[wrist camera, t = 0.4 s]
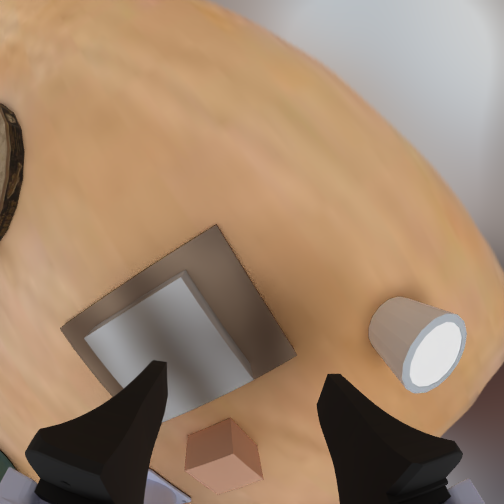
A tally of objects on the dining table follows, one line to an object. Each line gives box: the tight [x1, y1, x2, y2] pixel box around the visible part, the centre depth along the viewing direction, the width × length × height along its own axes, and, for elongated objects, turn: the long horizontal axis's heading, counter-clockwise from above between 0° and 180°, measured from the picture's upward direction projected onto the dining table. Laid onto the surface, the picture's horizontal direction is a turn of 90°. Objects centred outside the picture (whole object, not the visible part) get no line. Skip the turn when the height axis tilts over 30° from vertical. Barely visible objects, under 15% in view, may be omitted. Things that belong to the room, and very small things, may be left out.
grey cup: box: [369, 296, 467, 393], centre depth 21 cm, size 7×7×7 cm
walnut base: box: [60, 224, 297, 422], centre depth 20 cm, size 16×12×4 cm
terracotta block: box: [185, 418, 263, 495], centre depth 22 cm, size 5×5×5 cm
